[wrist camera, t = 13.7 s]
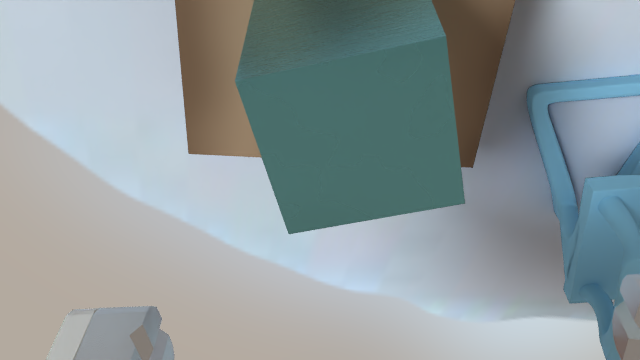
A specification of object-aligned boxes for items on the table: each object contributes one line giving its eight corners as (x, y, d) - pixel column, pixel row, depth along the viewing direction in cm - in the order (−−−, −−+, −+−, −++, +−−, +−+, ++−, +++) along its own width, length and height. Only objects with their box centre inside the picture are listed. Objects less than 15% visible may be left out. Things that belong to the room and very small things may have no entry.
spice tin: (405, -64, 20) (446, 36, 14) (424, 70, 23) (465, 203, 17) (260, -30, 21) (234, 80, 14) (296, 96, 24) (288, 234, 17)
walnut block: (512, -173, 23) (553, -152, 19) (452, 108, 30) (472, 167, 26) (188, -194, 22) (159, -177, 18) (206, 95, 29) (188, 153, 25)
